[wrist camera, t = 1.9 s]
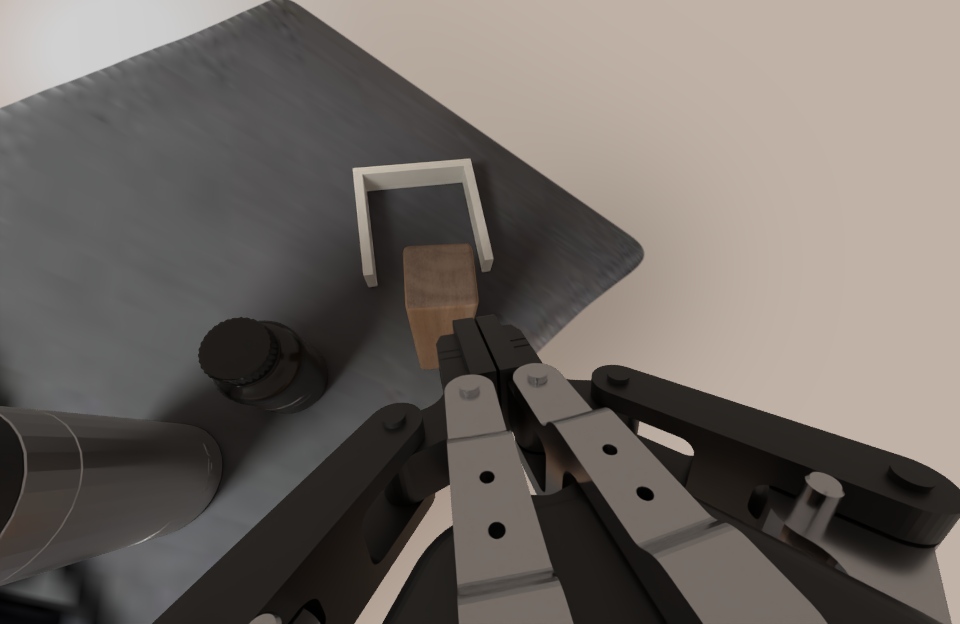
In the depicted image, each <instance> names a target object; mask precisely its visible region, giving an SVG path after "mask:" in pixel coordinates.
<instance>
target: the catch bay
mask: <svg viewBox="0 0 960 624" xmlns="http://www.w3.org/2000/svg"><path fill="white" fill-rule="evenodd" d="M353 176H354V186H355V196H356V207H357V217H358V227H359V237H360V247H361V257H362V267H363V276H364V278H365V280H366V283H367V285H368V287H375V286H378V284H377V275H376V266H375V257H374V249H373V240H372V231H371V222H370V213H369V204H368V195H367V191H376V190H386V189H397V188H408V187H419V186H430V185H441V184H452V183H463V187H464V192H465V196H466V201H467V206H468V210H469V215H470V219H471V224H472V229H473V233H474V238H475V243H476V247H477V252H478V256H479V261H480V266H481V270H482V272H488V271H490V270H491V267H492V263H493V259H494V258H493V254H492V250H491V245H490V241H489V237H488V232H487V228H486V224H485V220H484V215H483V211H482V207H481V202H480V198H479V194H478V189H477V185H476V181H475V176H474V172H473V168H472V163H471V159H460V160H447V161H435V162H423V163H411V164H399V165H386V166H374V167H362V168H353Z"/></svg>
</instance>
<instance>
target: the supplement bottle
mask: <svg viewBox="0 0 960 624" xmlns="http://www.w3.org/2000/svg"><path fill="white" fill-rule="evenodd" d="M198 357H199V363H200V364H201V368H202V369H203V370H204V373H205V374H208V376H209V377H210V378H212V379H213V382H214V384H215V386H216V388H217V389H218V390H219V391H220V392H221V393H222V394H223V395H224V396H225V397H227V398H228V399H230V400H233V401H235V402H238V403H241V404H245V405H249V406H253V407H257V408H261V409H265V410H269V411H273V412H278V413H296V412H299V411H302V410H304V409H306V408H308V407H310V406H311V405H312V404H314V403H315V402H316V401H317V400H318V399H319V398H320V396H321V395H322V394H323V392H324V390H325V388H326V385H327V381H328V368H327V365H326V362H325V360H324V359H323V357H322V356H321V355H320V354H319V353H318V352H317V351H316V350H315V349H314V348H313V347H311V346H310V345H309V344H308V343H307V342H306V341H304V340H303V339H302V338H301V337H300V336H299V335H297V334H296V333H295V332H294V331H293V330H291V329H290V328H288V327H287V326H285V325H283V324H281V323H278V322H274V321H256V320H254V319H249V318H242V317H240V318H232V319H231V320H230V319H229V320H226V321H224V322H220V323H219V324H218V325H216V326H214V327H213V329H212V330H210V331H209V332H208V334H207V335H206V336H205V337H204V339H203V341H202V342H201V346H200V348H199V354H198Z"/></svg>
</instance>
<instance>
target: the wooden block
mask: <svg viewBox="0 0 960 624" xmlns="http://www.w3.org/2000/svg"><path fill="white" fill-rule="evenodd" d="M403 266H404V288H405V307H406V311H407V315H408V319H409V323H410V327H411V331H412V335H413V339H414V343H415V347H416V351H417V355H418V359H419V363H420V367H421V369H424V370H425V369H437V368H439V363H438V355H437V348H436V343H437V341H438V339H439V337H440V336H442V335H449V334H453V323H452V321H453V320H458V319H464V318H471V317H473V319H474V317H475V315H476V311H477V307H478V303H479V298H478V289H477V281H476V273H475V264H474V256H473V249H472V247H471V245H470V244H467V243H463V244H441V245H419V246H407V247H405V249H404V251H403Z"/></svg>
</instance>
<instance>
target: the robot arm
mask: <svg viewBox="0 0 960 624" xmlns="http://www.w3.org/2000/svg"><path fill="white" fill-rule="evenodd" d="M452 323H453V334H449V335H442V336H440V337H439V339H438V341H437V343H436V348H437V355H438V363H439V370H440V377H441V383H442V389H443V396H442V397H441V398H440V399H439V401H437V402H436V403H435V404H433V405H432V406H430V407H428V408H426V409H423V410H421V411H420V409H419V408H418V407H416V406H415V405H412V404H409V403H395V404H391V405H388V406H385V407H383V408H381V409H379V410H378V411H376V412H375V413H374V414H373V415H372V416H371V417H370V418H369V419H368V420H366V421H365V422H364V423H363V424H362V425H361V426H360V427H359V428H358V429H357V430H356V431H355V432H354V433H353V434H352V435H351V436H350V437H349V438H347V439H346V440H345V441H344V442H343V443H342V444H341V445H340V446H339V447H338V448H337V449H336V450H335V451H334V452H333V453H332V454H331V455H330V456H328V457H327V458H326V459H325V460H324V461H323V462H322V463H321V464H320V465H319V466H318V467H317V468H316V469H315V470H314V471H313V472H312V473H311V474H309V475H308V476H307V477H306V478H305V479H304V480H303V481H302V482H301V483H300V484H299V485H298V486H297V487H296V488H295V489H294V490H293V491H292V492H290V493H289V494H288V495H287V496H286V497H285V498H284V499H283V500H282V501H281V502H280V503H279V504H278V505H277V506H276V507H275V508H274V509H273V510H271V511H270V512H269V513H268V514H267V515H266V516H265V517H264V518H263V519H262V520H261V521H260V522H259V523H258V524H257V525H256V526H255V527H254V528H252V529H251V530H250V531H249V532H248V533H247V534H246V535H245V536H244V537H243V538H242V539H241V540H240V541H239V542H238V543H237V544H236V545H235V546H233V547H232V548H231V549H230V550H229V551H228V552H227V553H226V554H225V555H224V556H223V557H222V558H221V559H220V560H219V561H218V562H217V563H216V564H214V565H213V566H212V567H211V568H210V569H209V570H208V571H207V572H206V573H205V574H204V575H203V576H202V577H201V578H200V579H199V580H198V581H197V582H195V583H194V584H193V585H192V586H191V587H190V588H189V589H188V590H187V591H186V592H185V593H184V594H183V595H182V596H181V597H180V598H179V599H178V600H176V601H175V602H174V603H173V604H172V605H171V606H170V607H169V608H168V609H167V610H166V611H165V612H164V613H163V614H162V615H161V616H160V617H159V618H158V619H156V620H155V621H154V622H153V623H152V624H354V623H355V622H356V620H357V619H358V617H359V615H360V614H361V612H362V611H363V609H364V608H365V606H366V605H367V603H368V602H369V600H370V599H371V597H372V595H373V594H374V592H375V591H376V589H377V588H378V586H379V585H380V583H381V582H382V580H383V579H384V577H385V576H386V574H387V573H388V571H389V570H390V568H391V566H392V565H393V563H394V562H395V560H396V559H397V557H398V556H399V554H400V553H401V551H402V550H403V548H404V547H405V545H406V543H407V542H408V540H409V539H410V537H411V536H412V534H413V533H414V531H415V530H416V528H417V527H418V525H419V523H420V522H421V521H422V519H423V517H424V516H425V514H426V513H427V511H428V510H429V508H430V507H431V505H432V503H433V501H434V498H435V493H436V492H437V491H439V490H441V489H443V488H445V487H446V486H448V485H450V489H451V503H452V518H453V525H452V526H451V527H449V528H448V529H447V530H445V531H444V532H443V533H442V534H440V535H439V536H438V537H437V538H436V539H435V540H434V541H433V542H432V543H431V544H430V545H429V546H428V548H427V549H426V550H425V551H424V553H423V554H422V555H421V557H420V558H419V560H418V561H417V563H416V565H415V566H414V568H413V570H412V572H411V573H410V575H409V577H408V579H407V580H406V582H405V584H404V586H403V587H402V589H401V591H400V593H399V595H398V596H397V598H396V600H395V602H394V604H393V605H392V607H391V609H390V611H389V612H388V614H387V616H386V618H385V620H384V621H383V623H382V624H952V623H951V619H950V614H949V610H948V606H947V601H946V597H945V593H944V589H943V584H942V580H941V575H940V571H939V567H938V562H937V558H936V554H935V550H936V549H937V548H938V546H939V545H940V543H941V542H942V541H943V540H944V538H945V536H947V534H948V533H949V532H950V530H951V529H952V527H953V526H954V525H955V523H956V522H957V521H958V519H959V518H960V489H959V488H958V487H957V486H956V485H955V484H953V483H952V482H951V481H950V480H948V479H947V478H946V477H945V476H943V475H941V474H940V473H938V472H937V471H935V470H933V469H931V468H930V467H928V466H926V465H923V464H921V463H919V462H917V461H914V460H912V459H909V458H906V457H903V456H900V455H897V454H894V453H891V452H888V451H885V450H881V449H879V448H876V447H872V446H869V445H866V444H863V443H860V442H857V441H854V440H851V439H847V438H844V437H841V436H838V435H835V434H832V433H829V432H826V431H823V430H820V429H817V428H813V427H810V426H807V425H804V424H801V423H798V422H795V421H792V420H789V419H786V418H783V417H779V416H776V415H773V414H770V413H767V412H764V411H761V410H757V409H755V408H752V407H748V406H745V405H742V404H739V403H736V402H733V401H730V400H727V399H724V398H721V397H717V396H714V395H711V394H708V393H705V392H702V391H699V390H696V389H693V388H690V387H686V386H683V385H680V384H677V383H674V382H671V381H668V380H665V379H661V378H659V377H656V376H652V375H649V374H646V373H643V372H640V371H637V370H634V369H631V368H628V367H624V366H619V365H606V366H602V367H599V368H597V369H596V370H594V372H593V373H592V379H591V381H590V380H568V379H565V378H564V376H563V375H562V374H561V373H560V372H559V371H558V370H557V369H556V368H554V367H552V366H550V365H547V364H543V363H542V362H541V360H540V359H539V357H538V356H537V354H536V353H535V351H534V350H533V348H532V347H531V345H530V344H529V342H528V341H527V339H526V338H525V336H524V335H523V333H522V332H521V330H519V329H517V328H516V327H514V326H512V325H505V326H501V324H500V322H499V321H498V319H497V317H496V315H495V314H490V315H484V316H477V317H474V319H473V317H471V318H464V319H458V320H453V321H452ZM639 421H641V422H643V423H646V424H648V425H651V426H653V427H656V428H658V429H661V430H663V431H666V432H668V433H671V434H673V435H676V436H678V437H681V438H683V439H684V440H686V441H687V442H688V443H689V444H690V445H691V446H692V448H693V450H694V456H688V455H684V454H682V453H679V452H677V451H675V450H672V449H670V448H667V447H665V446H663V445H661V444H658V443H656V442H654V441H651V440H649V439H647V438H644V437H642V436H639V435H637V433H638V426H639ZM512 432H513V433H514V436H515V441H514V438H513V435H512ZM521 464H522V465H521ZM522 466H523V468H524V470H525V472H526V474H527V476H528V478H529V480H530V482H531V484H532V486H533V488H534V490H535V492H536V494H537V495H530V491H529V488H528V485H527V481H526V478H525V475H524V471H523V468H522ZM221 474H222V455H221V452H220V449H219V446H218V445H217V443H216V441H215V440H214V438H213V437H212V436H211V435H209V434H208V433H207V432H206V431H204V430H202V429H200V428H199V427H196V426H192V425H188V424H179V423H168V422H159V421H150V420H140V419H129V418H119V417H109V416H98V415H88V414H78V413H67V412H57V411H47V410H36V409H26V408H13V407H3V406H0V586H1V585H4V584H8V583H11V582H14V581H17V580H21V579H24V578H27V577H30V576H34V575H37V574H40V573H43V572H47V571H50V570H53V569H56V568H59V567H63V566H66V565H69V564H72V563H76V562H79V561H82V560H85V559H89V558H92V557H95V556H98V555H102V554H105V553H108V552H111V551H115V550H118V549H121V548H124V547H128V546H132V545H135V544H138V543H141V542H144V541H148V540H151V539H154V538H157V537H161V536H164V535H167V534H169V533H172V532H174V531H177V530H179V529H181V528H182V527H184V526H186V525H187V524H189V523H190V522H192V521H193V520H194V519H195V518H196V517H197V516H198V515H200V514H201V513H202V512H203V510H204V509H205V508H206V507H207V505H208V504H209V503H210V502H211V500H212V498H213V496H214V494H215V493H216V491H217V488H218V485H219V482H220V479H221Z"/></svg>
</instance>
